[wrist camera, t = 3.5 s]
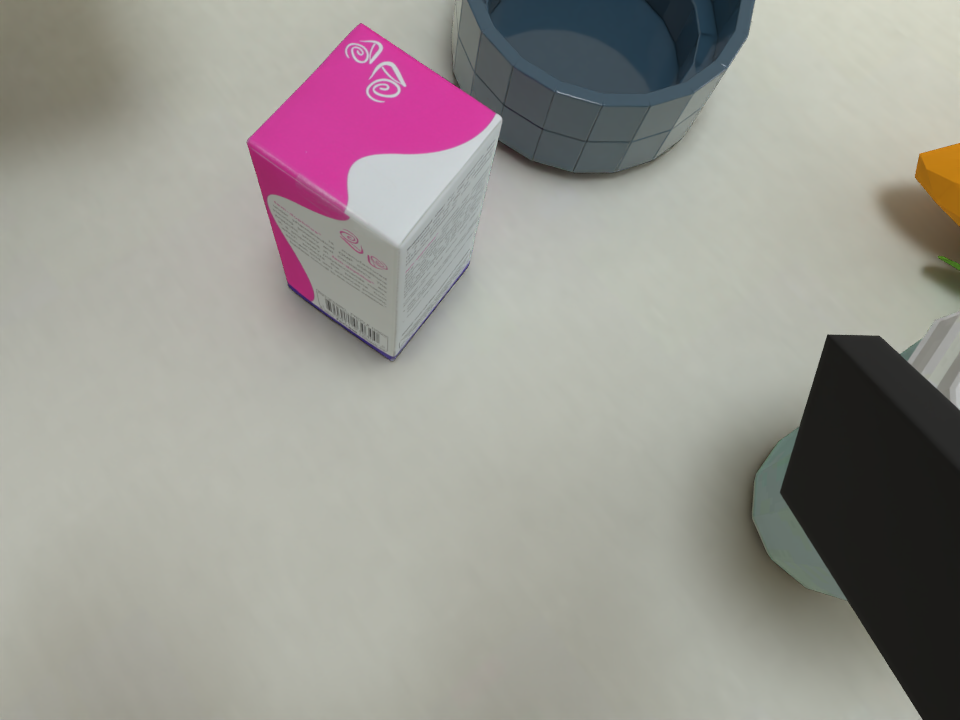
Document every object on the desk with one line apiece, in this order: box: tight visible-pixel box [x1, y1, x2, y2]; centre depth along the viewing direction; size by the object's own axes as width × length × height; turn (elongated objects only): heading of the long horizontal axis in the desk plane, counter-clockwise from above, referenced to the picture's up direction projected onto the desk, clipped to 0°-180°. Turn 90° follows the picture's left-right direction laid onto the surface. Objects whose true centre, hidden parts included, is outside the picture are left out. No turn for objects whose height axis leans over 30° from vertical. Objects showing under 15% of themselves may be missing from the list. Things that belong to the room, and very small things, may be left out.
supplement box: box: [247, 23, 502, 361], centre depth 30 cm, size 6×6×12 cm
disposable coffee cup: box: [752, 311, 960, 601], centre depth 28 cm, size 11×11×15 cm
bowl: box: [451, 0, 755, 173], centre depth 37 cm, size 12×12×6 cm
